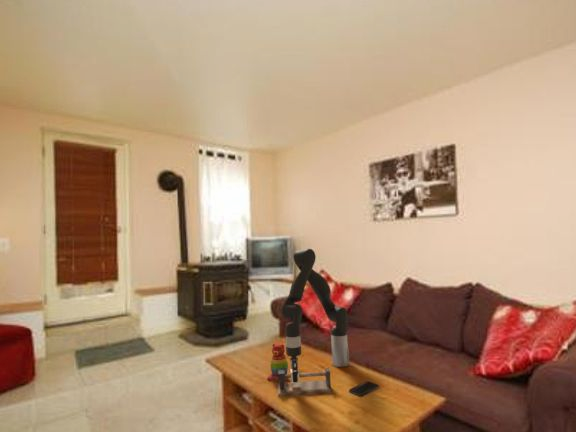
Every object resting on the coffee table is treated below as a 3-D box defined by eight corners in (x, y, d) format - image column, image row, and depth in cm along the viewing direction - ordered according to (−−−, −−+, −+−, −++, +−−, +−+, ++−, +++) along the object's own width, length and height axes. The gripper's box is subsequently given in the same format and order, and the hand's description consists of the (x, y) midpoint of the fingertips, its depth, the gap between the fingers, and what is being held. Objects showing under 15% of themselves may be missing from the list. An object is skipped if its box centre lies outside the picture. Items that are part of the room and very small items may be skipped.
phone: (347, 390, 168) (367, 380, 178) (348, 392, 168) (367, 383, 178) (360, 395, 162) (380, 385, 172) (361, 398, 162) (380, 387, 172)
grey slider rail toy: (328, 382, 179) (327, 364, 180) (332, 393, 167) (331, 373, 168) (277, 386, 178) (277, 367, 178) (278, 397, 166) (277, 377, 166)
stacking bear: (266, 380, 186) (264, 346, 187) (274, 373, 195) (273, 340, 196) (284, 383, 181) (282, 348, 182) (292, 375, 190) (290, 342, 191)
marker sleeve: (298, 378, 175) (298, 368, 175) (299, 382, 170) (299, 372, 170) (290, 379, 175) (290, 368, 175) (291, 383, 170) (290, 372, 170)
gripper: (302, 348, 167) (303, 385, 166) (299, 339, 181) (301, 373, 180) (286, 349, 166) (288, 386, 165) (285, 340, 181) (286, 374, 180)
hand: (294, 379), depth 173 cm, fingers closed on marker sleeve, 5 cm apart
